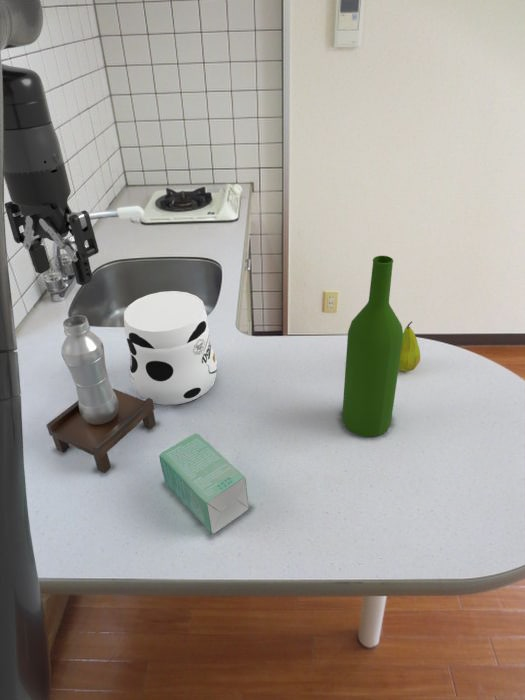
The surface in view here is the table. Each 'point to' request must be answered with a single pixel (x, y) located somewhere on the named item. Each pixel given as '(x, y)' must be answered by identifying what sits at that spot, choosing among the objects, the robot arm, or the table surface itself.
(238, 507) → the box
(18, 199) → the robot arm
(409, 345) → the fruit
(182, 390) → the milk container
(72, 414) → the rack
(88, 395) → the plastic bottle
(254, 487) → the table surface
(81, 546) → the table surface
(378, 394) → the wine bottle
